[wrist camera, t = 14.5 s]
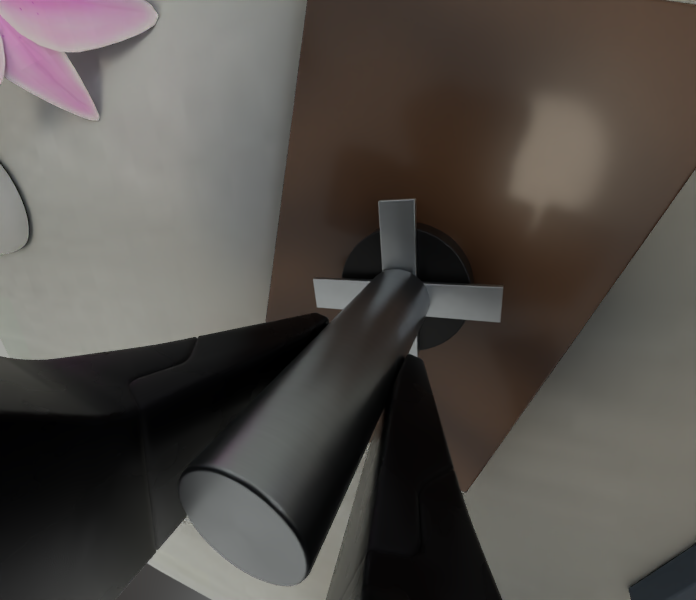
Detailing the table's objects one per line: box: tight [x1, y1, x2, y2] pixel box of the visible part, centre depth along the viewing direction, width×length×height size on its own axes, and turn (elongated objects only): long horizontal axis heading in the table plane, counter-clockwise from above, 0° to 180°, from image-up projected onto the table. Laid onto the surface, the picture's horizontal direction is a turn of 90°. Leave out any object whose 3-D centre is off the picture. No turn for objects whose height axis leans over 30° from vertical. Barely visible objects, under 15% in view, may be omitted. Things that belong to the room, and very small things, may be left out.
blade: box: [178, 198, 503, 586], centre depth 9 cm, size 7×7×10 cm
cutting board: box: [266, 0, 696, 493], centre depth 13 cm, size 18×12×1 cm, turn 166°
